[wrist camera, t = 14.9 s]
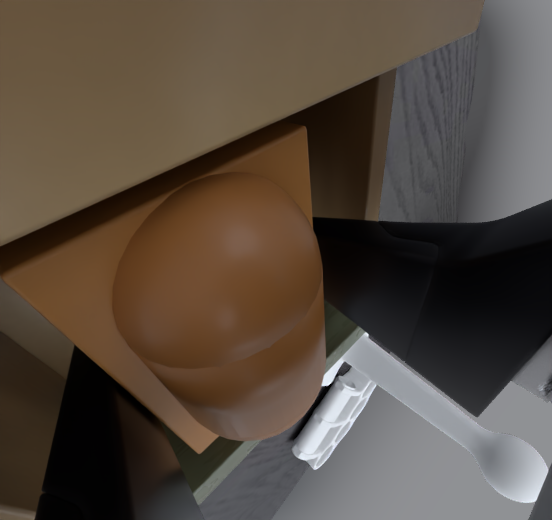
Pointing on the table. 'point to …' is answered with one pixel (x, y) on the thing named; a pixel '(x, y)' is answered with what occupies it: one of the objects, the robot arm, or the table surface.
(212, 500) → the table surface
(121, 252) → the bread loaf
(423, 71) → the table surface
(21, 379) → the drawer
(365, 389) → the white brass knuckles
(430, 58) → the table surface
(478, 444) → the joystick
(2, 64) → the cabinet
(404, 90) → the table surface
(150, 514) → the robot arm
